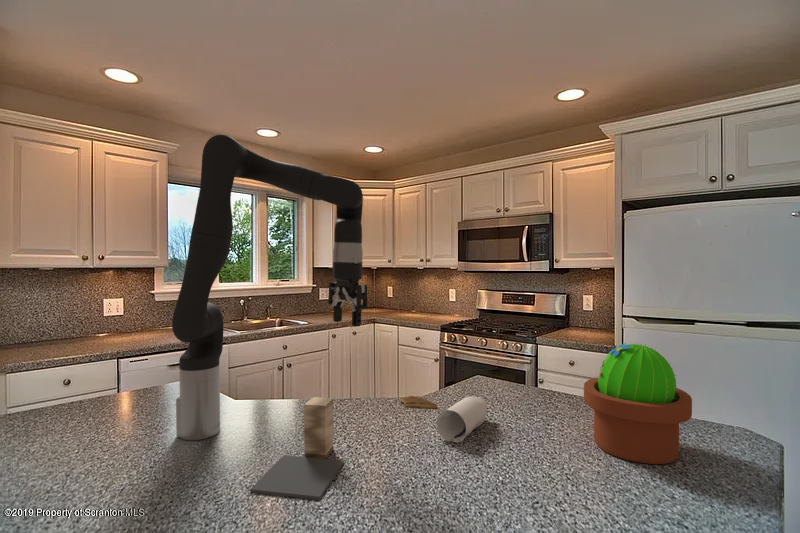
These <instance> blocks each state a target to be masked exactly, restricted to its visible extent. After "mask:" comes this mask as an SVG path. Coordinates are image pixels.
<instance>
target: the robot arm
mask: <svg viewBox="0 0 800 533" xmlns="http://www.w3.org/2000/svg"><path fill="white" fill-rule="evenodd" d="M201 156H202V157H201V172H200V184H199V185H200V186H199V193H198V198H197V203H196V208H195V212H194V214H195V215H194V217H193V218H194V219H193V223H192V227H191V233H190V240H189V246H188V253H187V258H186V261H185V262H186V263H185V269H184V273H183V277H182V284H181V287H180V290H179V294H178V296H177V300H176V303H175V306H174V311H173V314H172V318H171V319H172V320H171V328H172V329H171V330H172V332H173V334H174V336H175V338H176V339H177V340H179V341H180V342H181V343H185V344H187V343H189V344H188V346H187V348H186V350H185V351H184V352H183V353H182V354H181V355H180V357H179V361H178V364H179V366H178V369H179V372H178V374H179V376H178V377H179V396H178V397H177V398H176V400H175V415H176V416H175V417H176V418H175V422H176V424H175V426H176V431H175V432H176V433H175V434H176V437H179V438H181V439H182V440H184V441H199V440H204V439H207V438H208V439H209V438H211V437H214V436H216V435H217V434H218V433H219V432H220V431H221V394H220V393H221V392H220V388H221V387H220V386H221V384H220V380H221V379H220V359H221V355H222V352H223V347H224V346H223V345H224V344H223V343H224V317H223V314H222V311H221V309H220V308H219V307H218V306H217V305H216V304H215V303H212V302H209V297H210V293H211V289H212V287H213V284H214V282H215V281H216V279H217V278H218V276H219V275H220V273H221V271H222V269H223V267H224V266H225V264H226V261H227V259H228V258H229V253H230V250H231V245H232V244H231V243H232V240H233V238H232V237H233V233H234V232H233V230H234V229H233V228H234V227H233V226H234V225H233V224H234V223H233V213H232V211H233V210H232V203H231V200H232V198H231V197H232V190H233V186H234V185H233V184H234V180H235V178H239V179H246V180H251V181H256V182H259V183H260V182H261V183H264V184H268V185H270V186H274V187H277V188H279V189H282V190H284V191H287V192H290V193H292V194H296V195H299V196H301V197H305V198H307V199H311V200H315V201H322V202H326V203H328V204H331V205H335V206H336V218H335V219H336V222H335V224H334V234H333V235H334V237H333V239H334V240H333V241H334V244H333V250H332V279H334V280H336V281H329V282H328V295H327V296H328V297H327V298H328V299H327V300H328V301H327V302H328V305H331V307H332V314H333V316H332V319H333V322H334V323H338V322H342V318H343V304H344V303H345V301H346V302H347V304H348V305H350V307H351V310H352V311H351V326H352V327H361V323H362V312H363V310H367V309H368V286H367V285H366V284H360V283H359V281H360V280H362V279H363V244H362V242H363V227H362V225H363V224H362V217H363V205H364V204H363V202H364V196H363V191H362V188H361V187H360V185H359V184H358V183H356V182H355V181H353V180H350V179H348V178H347V179H346V178H343V177H339V176H335V175H329V174H324V173H323V172H320V171H317V170H314V169H310V168H307V167H304V166H302V165H297V164H293V163H287V162H281V161H278V160H273V159H270V158H267V157H265V156H262V155H261V154H257V153H256V152H253V151H252V150H250V149H248V148H247V147H245V146H244V145H242V143H240V142H239V141H237V140H236V139H235V138H232V137H231V136H229V135H227V134H222V133H221V134H215V135H213V136H211V137H209V139H208V140H207V141H206V142H205V144H204V146H203V150H202V155H201Z"/></svg>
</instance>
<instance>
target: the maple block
mask: <svg viewBox="0 0 800 533" xmlns="http://www.w3.org/2000/svg"><path fill="white" fill-rule="evenodd" d="M303 413H304V414H303V415H304V416H303V417H304V418H303V422H304V426H303V427H304V428H303V429H304V431H303V433H304V436H303V437H304V438H303V439H304V448H303V449H304V457H310V458H321V459H328V457H329V456H330V455H331V453H333V451H334V398H333V397H331V398H330V397H317V396H316V397H315V396H313V397H311V398H310V399H309V400H307V401H306V402H305V403H304V405H303Z"/></svg>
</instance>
